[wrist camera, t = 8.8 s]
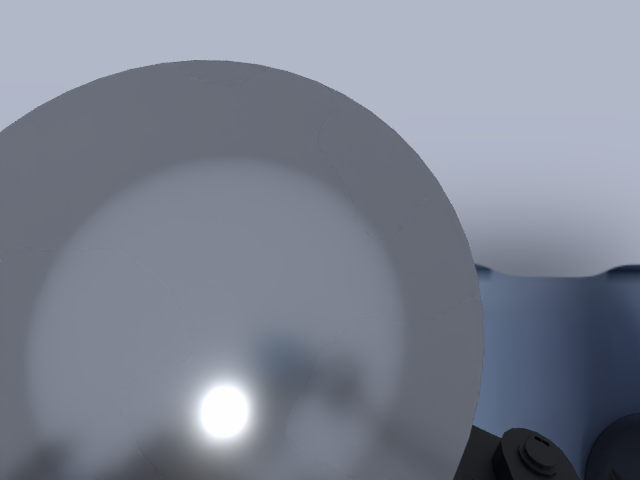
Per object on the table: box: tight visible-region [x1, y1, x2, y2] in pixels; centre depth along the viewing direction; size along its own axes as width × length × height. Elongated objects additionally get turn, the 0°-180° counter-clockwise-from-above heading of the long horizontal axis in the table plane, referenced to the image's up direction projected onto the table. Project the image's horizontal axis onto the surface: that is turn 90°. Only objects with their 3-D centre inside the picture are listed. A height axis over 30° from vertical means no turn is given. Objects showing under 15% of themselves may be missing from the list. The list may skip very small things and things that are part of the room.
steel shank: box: [0, 60, 484, 480], centre depth 11 cm, size 4×4×18 cm
